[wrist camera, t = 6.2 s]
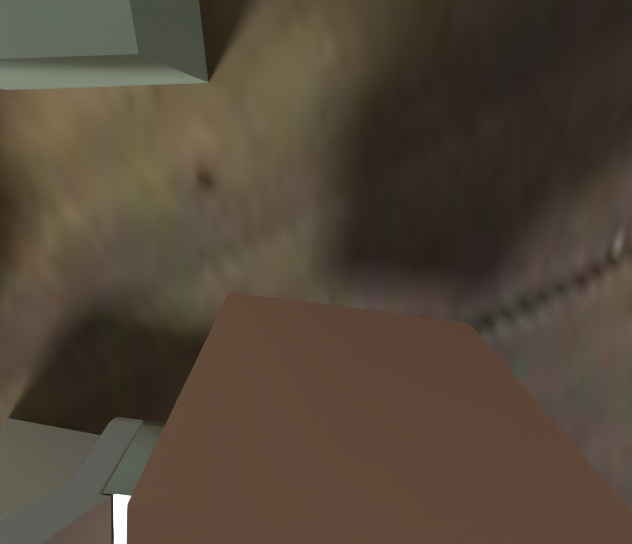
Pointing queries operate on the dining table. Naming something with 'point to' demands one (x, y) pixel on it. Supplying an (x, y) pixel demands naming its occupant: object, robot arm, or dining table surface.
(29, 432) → the cream block
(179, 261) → the dining table surface
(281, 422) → the terracotta block
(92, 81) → the sage block
